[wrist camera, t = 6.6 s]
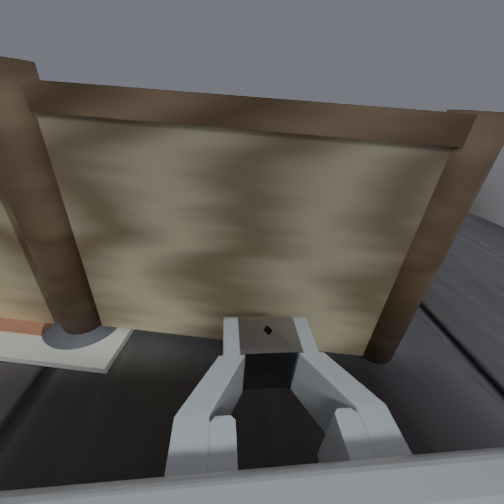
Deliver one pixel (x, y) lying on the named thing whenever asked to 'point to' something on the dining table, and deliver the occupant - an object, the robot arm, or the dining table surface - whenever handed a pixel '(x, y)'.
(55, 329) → the card
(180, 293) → the fence panel
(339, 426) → the robot arm
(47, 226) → the fence fixed
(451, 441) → the dining table surface
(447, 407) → the dining table surface
